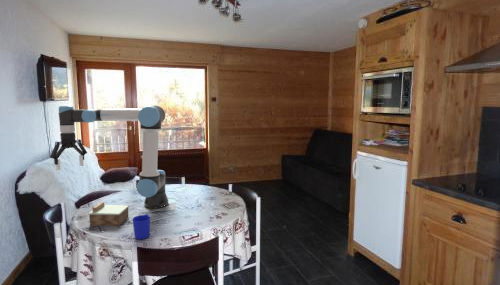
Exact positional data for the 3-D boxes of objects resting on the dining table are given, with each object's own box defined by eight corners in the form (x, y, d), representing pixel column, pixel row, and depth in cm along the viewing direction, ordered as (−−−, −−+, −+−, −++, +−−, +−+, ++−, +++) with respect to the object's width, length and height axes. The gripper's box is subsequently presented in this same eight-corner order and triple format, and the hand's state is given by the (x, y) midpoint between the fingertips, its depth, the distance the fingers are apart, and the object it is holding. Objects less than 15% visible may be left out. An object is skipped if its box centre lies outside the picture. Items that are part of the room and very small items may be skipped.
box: (128, 217, 175) (128, 207, 174) (119, 225, 163) (118, 215, 162) (101, 216, 175) (100, 207, 174) (90, 225, 163) (89, 214, 162)
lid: (128, 206, 174) (128, 201, 174) (119, 215, 162) (118, 209, 161) (100, 206, 175) (100, 200, 174) (88, 214, 162) (88, 208, 161)
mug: (154, 230, 158) (154, 212, 157) (147, 240, 146) (147, 221, 145) (139, 230, 158) (138, 212, 156) (130, 240, 146) (130, 221, 144)
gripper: (84, 130, 189) (87, 163, 192) (41, 133, 168) (44, 171, 171) (91, 131, 185) (94, 164, 188) (48, 134, 164) (51, 172, 167)
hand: (70, 167), depth 179 cm, fingers open, 13 cm apart
